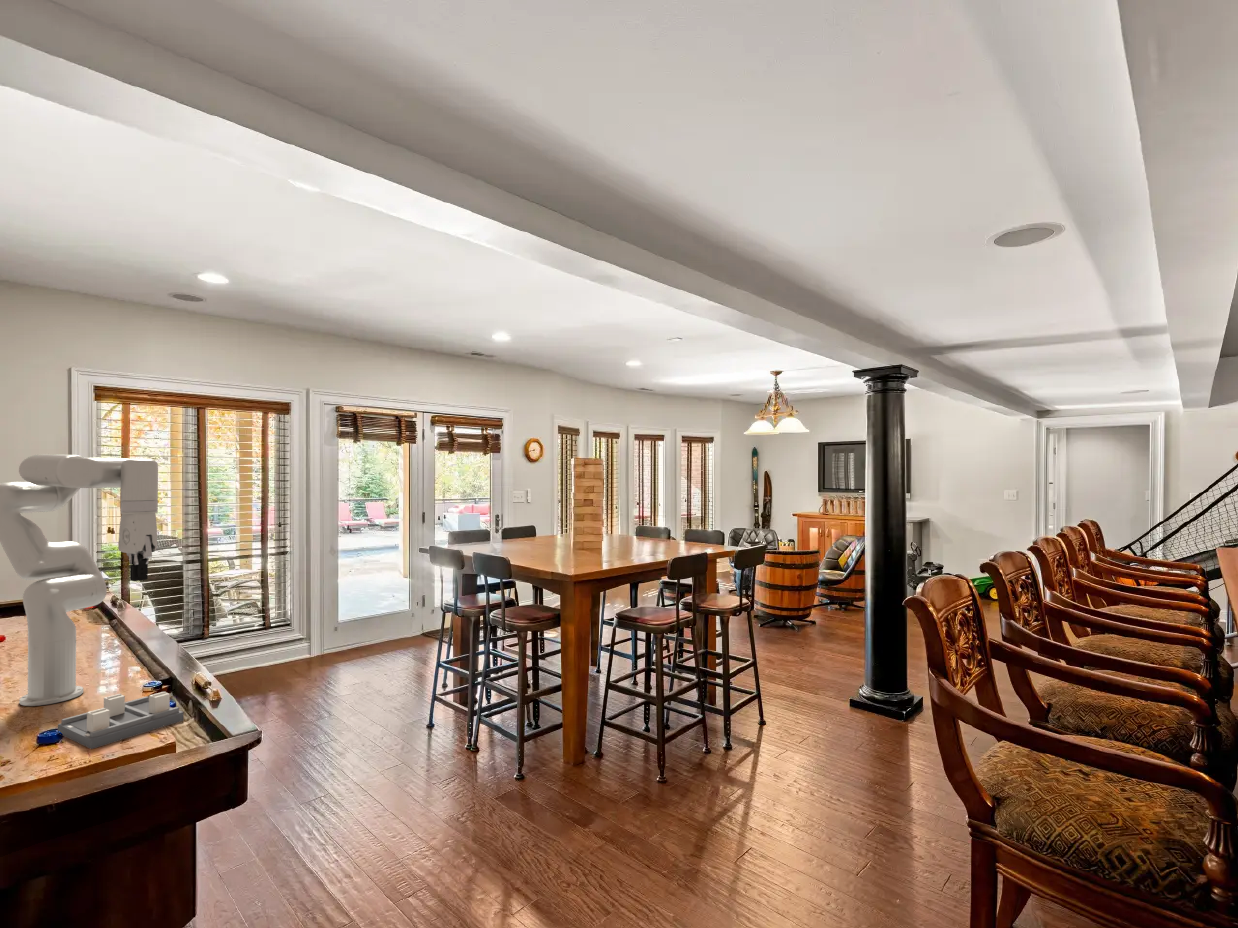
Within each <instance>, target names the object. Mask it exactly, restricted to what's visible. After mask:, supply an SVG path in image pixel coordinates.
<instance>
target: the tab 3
mask: <svg viewBox="0 0 1238 928" xmlns="http://www.w3.org/2000/svg"><path fill="white" fill-rule="evenodd" d="M148 697H149V713H152V714H154V713H158V712H161V711H165V710H168V709H170V707H171V706H170V705H171V704H170V702H171V701H170V700H171V699H170V698H171V697H170V693H168V692H166V691H161V692H158V693H157V692H156V693H154V694H150V695H149V696H148Z"/></svg>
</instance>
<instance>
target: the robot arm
mask: <svg viewBox="0 0 1238 928" xmlns="http://www.w3.org/2000/svg"><path fill="white" fill-rule="evenodd" d="M18 473H19V476H20V477H21V478H22V480H24V481H8V482H7V481H6V482H0V544H1V547H2V548H3V551H4V552H5V555H6V556H7V559H8V560H9V562H10V564H11V566H12V568H13V570H14V572H15V573H16V574H17V576H18V577H20V578H21V579H23V580H26V581H35V582H32V583H31V584H29V585H28V586H27V587H26V588H25V589H24V591H23V593H22V594H23V595H22V603H23V608H24V611H25V616H26V622H27V694H24V695H22V696H21V697H20V698H19V700H18V701H19V702H18V703H19V704H20V705H21V706H24V707H25V706H26V707H36V706H45V705H46V706H47V705H51V704H57V703H61V702H65V701H69V700H71V699H74V698H77V697H79V696H81V695H82V694H83V693H84V687H83V686H81V685H77V628H76V624H75V622H74V621H73V620H72V619H71V618H70V616H69V615H68V614H67V613H68V612H71V611H76V610H82V609H86V608H91V607H94V606H98V605H99V604H101V603H102V602H103V601H104V600H105V599H106V596H107V594H108V593H107V590H108V589H107V585H106V584H107V583H106V581H105V578H104V576H103V575H102V573H101V571H100V569H99V567H98V566H97V564H96V562H95V560H94V558H93V555H91V553H90V551H89V549H87V547H86V546H85V545H83V544H82V543H80V542H77V541H57V542H53V541H52V542H51V541H50V540H48V539H47V538H46V536H45V535H44V533H43V530H42V529H41V528H40V527H39V526H38V524H36V523H35V522H33V521H32V520H30V519H29V518H26V516H23V515H21V514H28V513H31V514H32V513H45V512H46V513H47V512H56V511H58V510H61V509H62V508H63V507H65V506H66V505H67V504H68V503H69V502H70V501H71V499H72V498H73V497H74V496H75V495H76V494H77V493H78V492H79V491H80V490H81V489H102V488H103V489H105V488H108V489H109V488H110V489H111V488H113V489H114V488H115V489H117V488H119V489H120V515H121V516H120V522H119V530H118V542H117V543H118V546H117V549H118V551H119V552H121V553H126V556H127V557H128V560H129V561H128V562H129V580H130V581H132V582H140V581H146V580H148V576H149V574H148V572H149V571H148V570H149V569H148V568H149V567H148V566H149V562H150V559H151V558H152V557H153V552H156V550H157V548H158V526H157V524H158V523H157V517H156V514H158V511H159V509H158V508H159V506H158V503H159V465H158V462H157V461H156V460H154V459H150V458H149V459H148V458H115V457H84V456H82V455H78V454H49V453H39V454H34V455H31V456H28V457H26V458H24V459H23V460H22V461H21V463H19V465H18Z"/></svg>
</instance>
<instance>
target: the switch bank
mask: <svg viewBox="0 0 1238 928" xmlns="http://www.w3.org/2000/svg"><path fill="white" fill-rule="evenodd" d="M184 715H185V714H184V711H182V710H180V707H178V706H175V707H171V706H170V709H168V710H165V711H161V712H158V713H154V714H152V713H149V696H143V697H139V698H136V699H132V700H129V701H125V713H123V714H119V715H115V716H112V717H110V720H109V727H107V728H103V729H100V730H96V731H93V732H89V731H87V712H84V713H81V714H76V715H73V716H70V717H65V718H62V719H61V722H60V723H58V724H57V732H58V731H60V732H61V733H62V734H63V735H62V736H63V737H65V738H68V740H71V741H73V742H75V743H77V744H79V745H81V746H83V747H86V748H88V749H90V750H93V749H96V748H99V747H103V746H105V745H108V744H112V743H115V742H119V741H122V740H125V739H128V738H131V737H134V736H138V735H141V734H144V733H147V732H150V731H154V730H157V729H161V728H164V727H166V726H171V725H172V724H176V723H179V722H182V721H184Z"/></svg>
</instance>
